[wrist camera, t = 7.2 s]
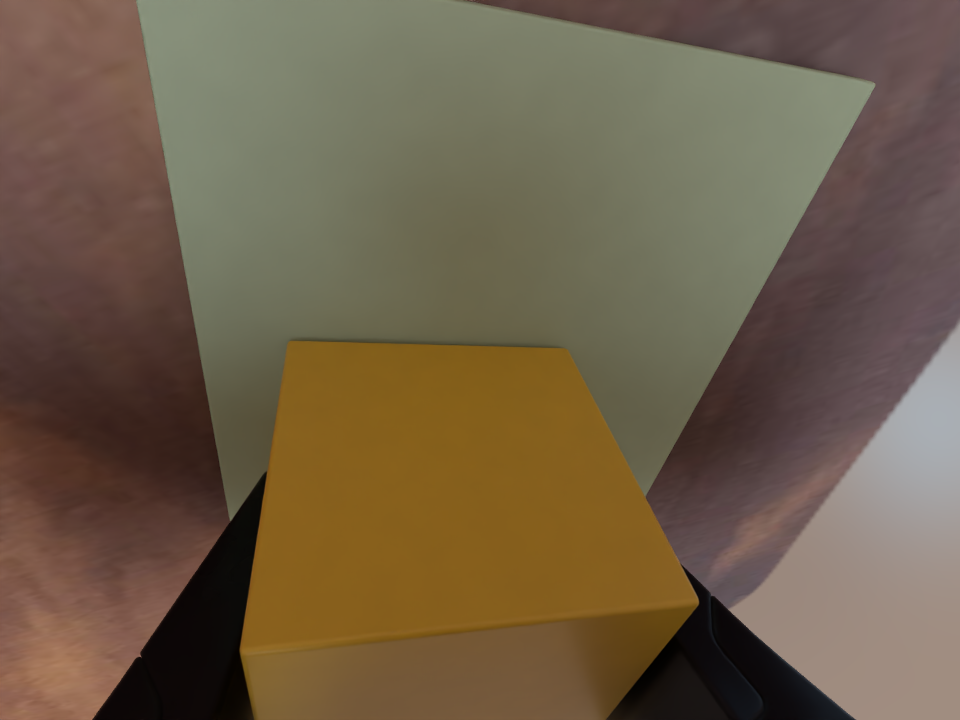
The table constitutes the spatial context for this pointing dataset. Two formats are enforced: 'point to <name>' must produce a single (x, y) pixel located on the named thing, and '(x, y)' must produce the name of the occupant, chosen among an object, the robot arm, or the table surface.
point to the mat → (475, 195)
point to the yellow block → (450, 542)
